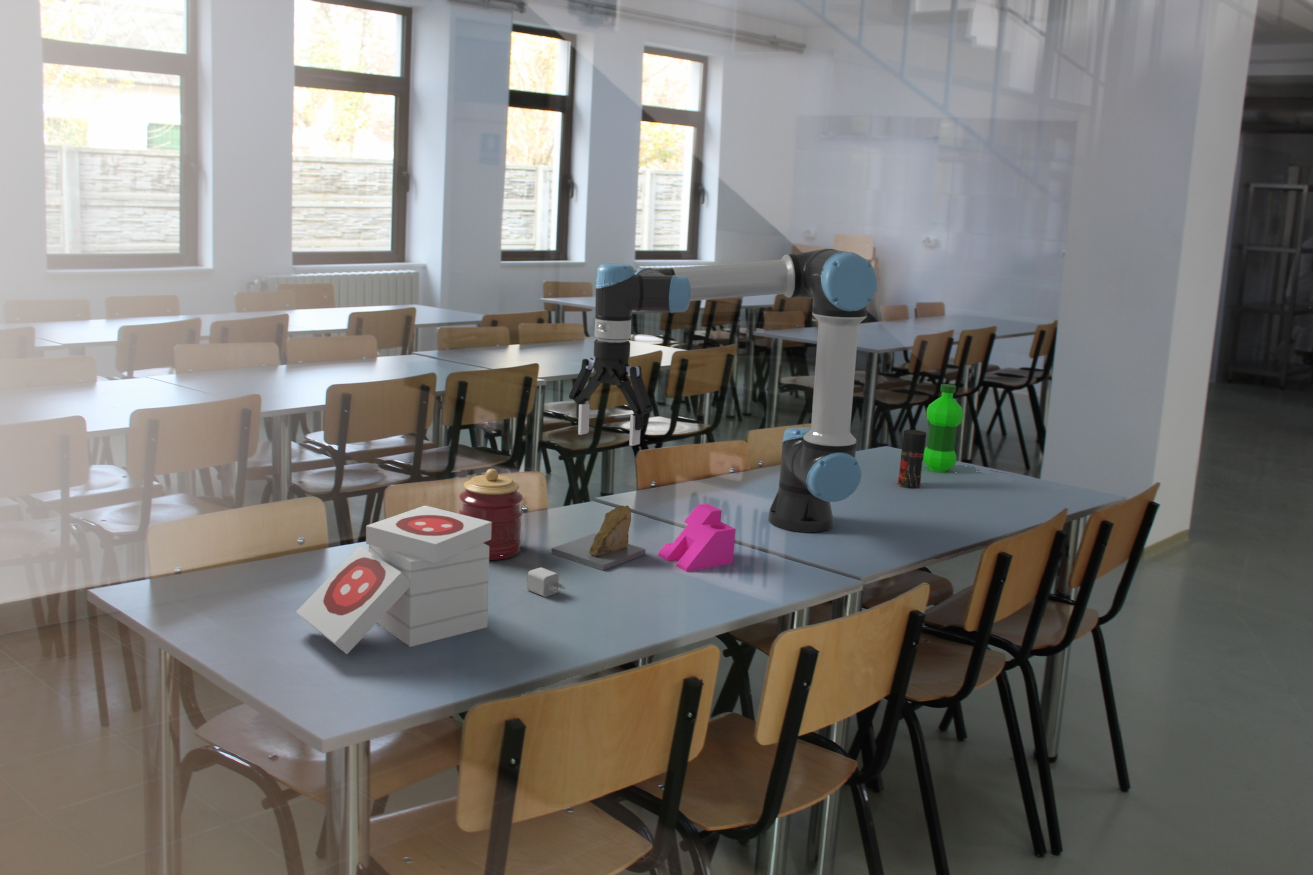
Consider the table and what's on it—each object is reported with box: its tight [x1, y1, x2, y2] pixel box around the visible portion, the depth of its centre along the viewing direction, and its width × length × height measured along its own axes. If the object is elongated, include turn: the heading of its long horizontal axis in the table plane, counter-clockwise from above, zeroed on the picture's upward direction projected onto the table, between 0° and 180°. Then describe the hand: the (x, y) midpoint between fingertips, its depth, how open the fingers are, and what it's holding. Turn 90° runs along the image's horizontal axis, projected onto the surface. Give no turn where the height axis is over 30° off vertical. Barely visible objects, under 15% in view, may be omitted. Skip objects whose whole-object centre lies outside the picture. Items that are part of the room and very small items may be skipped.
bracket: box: [657, 503, 736, 573], centre depth 228 cm, size 12×10×10 cm
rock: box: [589, 505, 632, 556], centre depth 227 cm, size 11×9×10 cm
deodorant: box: [897, 429, 927, 490], centre depth 296 cm, size 6×6×15 cm
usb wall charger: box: [526, 567, 566, 598], centre depth 205 cm, size 4×7×4 cm, turn 50°
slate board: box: [550, 533, 646, 571], centre depth 228 cm, size 14×14×1 cm
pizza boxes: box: [295, 505, 492, 655], centre depth 183 cm, size 19×30×18 cm, turn 131°
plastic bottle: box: [923, 383, 965, 473], centre depth 314 cm, size 10×10×25 cm
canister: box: [458, 468, 524, 561], centre depth 224 cm, size 13×13×18 cm
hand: (608, 439), depth 230 cm, fingers open, 13 cm apart
